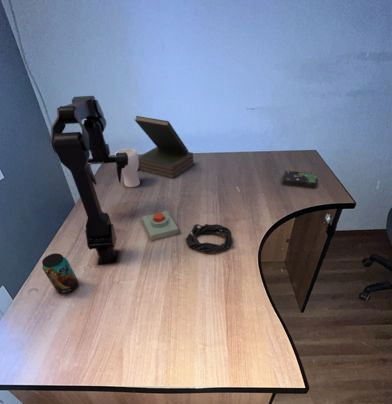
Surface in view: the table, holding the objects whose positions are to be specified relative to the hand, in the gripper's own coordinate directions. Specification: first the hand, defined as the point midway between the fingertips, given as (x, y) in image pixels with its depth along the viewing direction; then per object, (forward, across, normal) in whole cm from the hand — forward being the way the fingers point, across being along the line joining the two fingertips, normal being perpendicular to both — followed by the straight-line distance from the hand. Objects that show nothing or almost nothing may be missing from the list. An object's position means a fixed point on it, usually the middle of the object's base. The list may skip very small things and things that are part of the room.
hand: (108, 183), depth 103 cm
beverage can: (+15, +12, +40) cm, 45 cm away
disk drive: (+14, -86, -15) cm, 89 cm away
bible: (+14, -23, -45) cm, 53 cm away
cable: (+15, -36, +25) cm, 46 cm away
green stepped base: (+14, -18, +12) cm, 26 cm away
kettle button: (+11, -18, +12) cm, 24 cm away
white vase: (+14, -5, -28) cm, 32 cm away
